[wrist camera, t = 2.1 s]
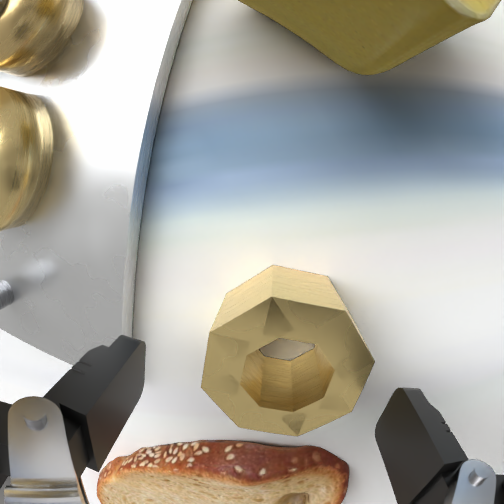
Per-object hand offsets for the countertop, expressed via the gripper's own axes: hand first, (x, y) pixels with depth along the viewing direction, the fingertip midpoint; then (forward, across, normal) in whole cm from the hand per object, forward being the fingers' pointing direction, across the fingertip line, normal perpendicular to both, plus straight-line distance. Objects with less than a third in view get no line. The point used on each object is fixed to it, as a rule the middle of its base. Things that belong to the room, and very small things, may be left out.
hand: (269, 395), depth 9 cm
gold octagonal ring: (+5, -1, 0) cm, 5 cm away
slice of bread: (+6, +1, +16) cm, 17 cm away
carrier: (+5, +14, -5) cm, 16 cm away
